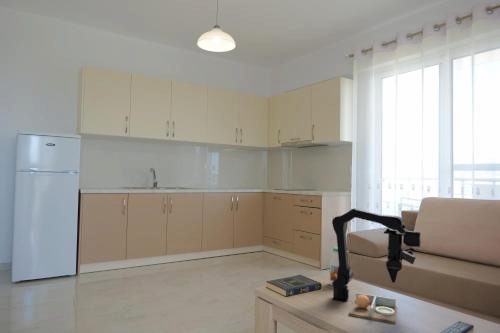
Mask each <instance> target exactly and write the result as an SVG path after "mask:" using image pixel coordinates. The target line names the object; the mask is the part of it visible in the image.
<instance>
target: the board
mask: <svg viewBox="0 0 500 333" xmlns="http://www.w3.org/2000/svg"><path fill="white" fill-rule="evenodd" d="M359 295H365V296H367V297H368V299H369V301H370V303H369V306H368V307H367V308H360V307H359V306H358V305H357V303H356V299H357V297H358V296H359ZM396 302H397V299H396V298H393V297H387V296H380V295H374V294H368V293H360V292H356V293H355V299H354V301H353V304H352V306H351V308H350V310H349V312H348V316H349V317H354V318H355V317H356V318H360V319H361V318H362V319H365V320H371V321H377V322H382V323H383V322H384V323H387V324H394V325H396V319H397V313H398V312H397V311H398V307H397V304H396Z"/></svg>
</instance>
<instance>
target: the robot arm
mask: <svg viewBox="0 0 500 333" xmlns="http://www.w3.org/2000/svg"><path fill="white" fill-rule="evenodd" d="M355 218H357V219H361V220H365V221H369V222H373V223H376V224H379V225H383V227H386V229H385V231H383V234H384V235H388V236H387V240H388V241H387V258H386V259H387V260H386V262H385V267H386V269H387V273H388V275H389V277H390V280H391V282H392V283H393V284H395V282H396V280H397V275H398V273H399V271H401V270H402V268H403V261H406V262H408V263H410V265H414V264H415V261H416V259H417V256H416V255H415V254H414V252H413V251H412V250H410V249H409V250H408V251H406V250H403V244H404V245H405V246H406V247H412V248H418V249H419V248H421V247H422V246H421V245H422V238H421V231H418V230H417V231H412V230H411V231H410V230H409V229H408V228H407V227H406V226H405V224H404V220H403V218H402V217H400V216H398V215H385V214H379V213H374V212H370V211H367V210H361V209H359V208H351V209H350V210H349V211H347V212H344V214H342V215H337V216H335V217H333V219H332V222H331V224H332V228H333V231H334V233H335V236H336V244H337V245H336V247H338V258H339V267H338V272H337V279H336V280H335V281H334V282H332V284H333V286H332V287H333V289H332V290H333V294H332V295H333V296H332V300H334V301H339V302H347V301H348V300H349V298H350V289H349V288H348V287H349V286H348V285H349V283H350V282H351V281H352V280H353V278H354V276H355V274H354V268H353V267H351V266H350V265H349V264H350V263H349V257H348V246H347V245H348V244H347V230H348V223H349V222H351V221H352V220H354V219H355Z"/></svg>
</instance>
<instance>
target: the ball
mask: <svg viewBox="0 0 500 333" xmlns="http://www.w3.org/2000/svg"><path fill="white" fill-rule="evenodd" d="M355 300H356V303H357V305H358V306H359V307H360V308H367V307H368V306H369V303H370V301H369V299H368V297H367V296H365V295H359V296H358V297H357V299H356V298H355Z"/></svg>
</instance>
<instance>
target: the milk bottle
mask: <svg viewBox="0 0 500 333" xmlns="http://www.w3.org/2000/svg"><path fill="white" fill-rule="evenodd" d="M332 252H333V253H332V256H331V258H330V261H329V262H330V263H329V284H330V286H332V285H333V284H332V282H334V281H335V280H336V279H337V272H338V267H339V258H338V247H337V246H335V247H333V248H332Z"/></svg>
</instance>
